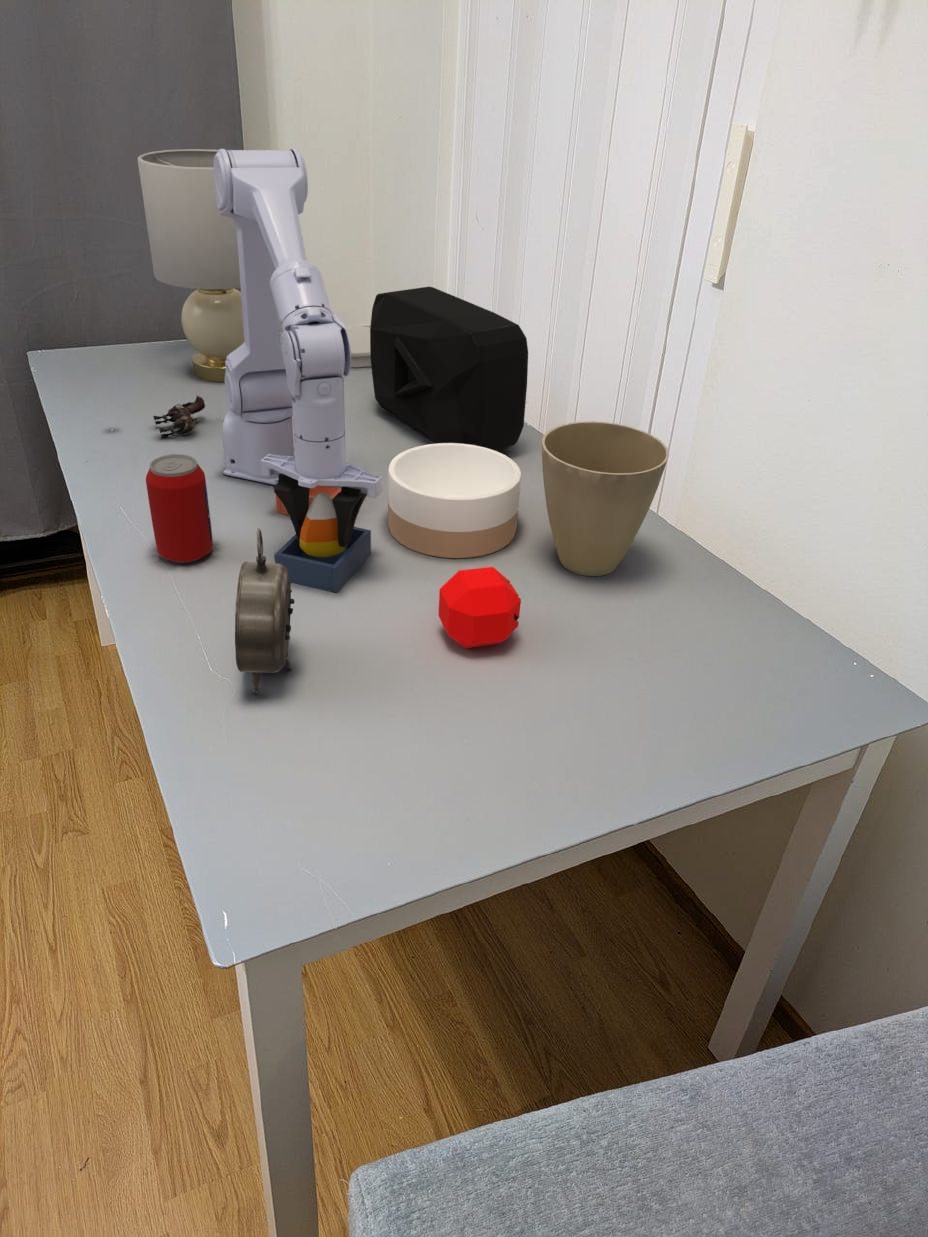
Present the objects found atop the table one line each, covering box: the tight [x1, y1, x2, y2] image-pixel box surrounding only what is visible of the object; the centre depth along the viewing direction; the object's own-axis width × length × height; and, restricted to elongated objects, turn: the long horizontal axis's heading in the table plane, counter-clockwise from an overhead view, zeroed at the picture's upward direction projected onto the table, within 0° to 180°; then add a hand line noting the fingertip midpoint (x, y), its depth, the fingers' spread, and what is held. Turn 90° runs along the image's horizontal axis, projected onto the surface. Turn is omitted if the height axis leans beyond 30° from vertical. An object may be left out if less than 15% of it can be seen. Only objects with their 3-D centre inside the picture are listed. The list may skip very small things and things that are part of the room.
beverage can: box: [145, 453, 214, 564], centre depth 110 cm, size 7×7×12 cm
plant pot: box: [541, 420, 670, 577], centre depth 112 cm, size 15×15×16 cm
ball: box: [438, 566, 522, 649], centre depth 99 cm, size 8×8×8 cm
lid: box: [345, 325, 371, 369], centre depth 178 cm, size 17×20×3 cm
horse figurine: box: [111, 394, 206, 439], centre depth 143 cm, size 9×4×15 cm
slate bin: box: [274, 526, 372, 593], centre depth 111 cm, size 8×10×3 cm
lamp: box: [137, 148, 245, 383], centre depth 157 cm, size 20×20×35 cm
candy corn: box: [299, 493, 347, 557], centre depth 109 cm, size 6×3×8 cm, turn 105°
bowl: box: [387, 443, 522, 559], centre depth 120 cm, size 17×17×8 cm
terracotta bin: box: [275, 486, 341, 516], centre depth 125 cm, size 8×10×3 cm
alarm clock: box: [234, 527, 296, 696], centre depth 90 cm, size 11×5×16 cm, turn 5°
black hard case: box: [369, 286, 529, 452], centre depth 144 cm, size 30×12×20 cm, turn 37°
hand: (323, 538), depth 110 cm, fingers closed on candy corn, 5 cm apart
